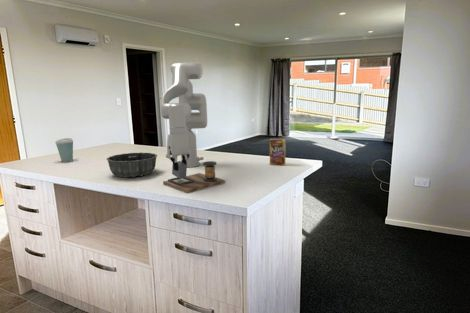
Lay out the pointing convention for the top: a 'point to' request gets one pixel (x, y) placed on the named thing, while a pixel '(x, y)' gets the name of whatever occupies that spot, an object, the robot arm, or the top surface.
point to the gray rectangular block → (180, 170)
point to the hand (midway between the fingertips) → (180, 169)
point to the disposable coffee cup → (65, 149)
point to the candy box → (277, 151)
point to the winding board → (196, 180)
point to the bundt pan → (132, 164)
